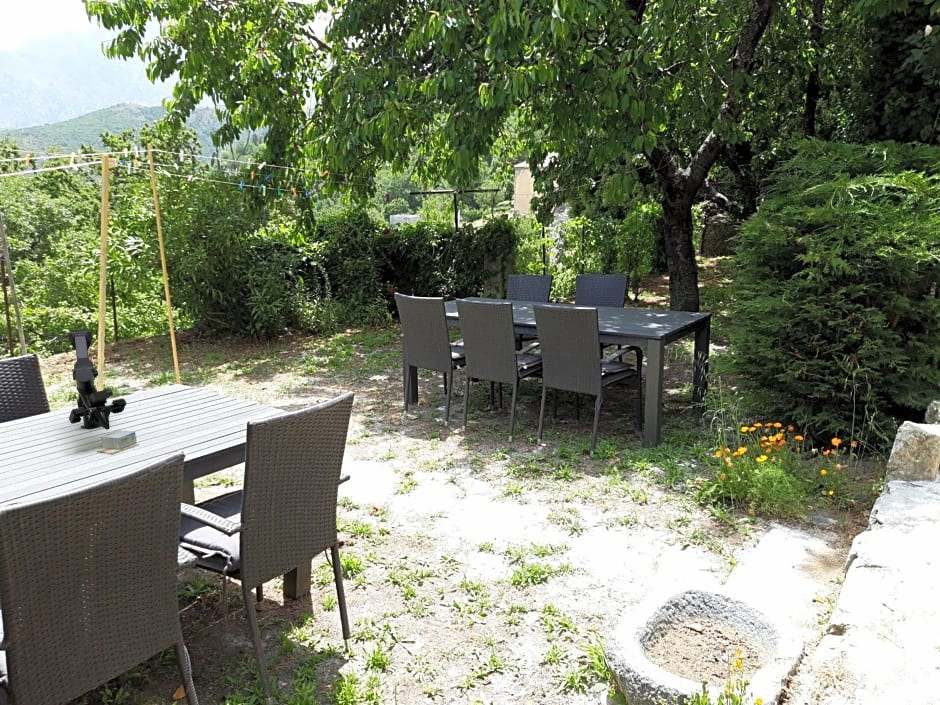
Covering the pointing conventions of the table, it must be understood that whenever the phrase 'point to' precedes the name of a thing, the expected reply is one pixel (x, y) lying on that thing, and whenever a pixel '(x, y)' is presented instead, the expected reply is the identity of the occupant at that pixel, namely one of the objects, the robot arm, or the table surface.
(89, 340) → the robot arm
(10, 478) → the table surface
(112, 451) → the pad
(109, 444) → the medicine box
